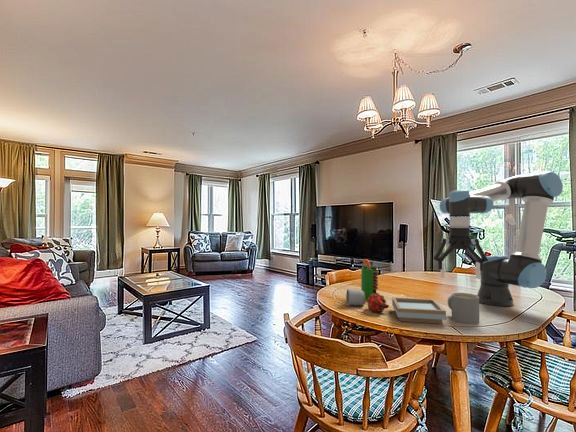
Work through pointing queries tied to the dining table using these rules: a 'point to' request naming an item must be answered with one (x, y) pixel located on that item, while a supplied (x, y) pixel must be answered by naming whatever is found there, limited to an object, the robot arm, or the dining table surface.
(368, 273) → the green and brown toy
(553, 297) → the dining table surface
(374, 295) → the dragon fruit
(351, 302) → the ceramic mug
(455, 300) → the coffee mug
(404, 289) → the dining table surface
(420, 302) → the picture frame
